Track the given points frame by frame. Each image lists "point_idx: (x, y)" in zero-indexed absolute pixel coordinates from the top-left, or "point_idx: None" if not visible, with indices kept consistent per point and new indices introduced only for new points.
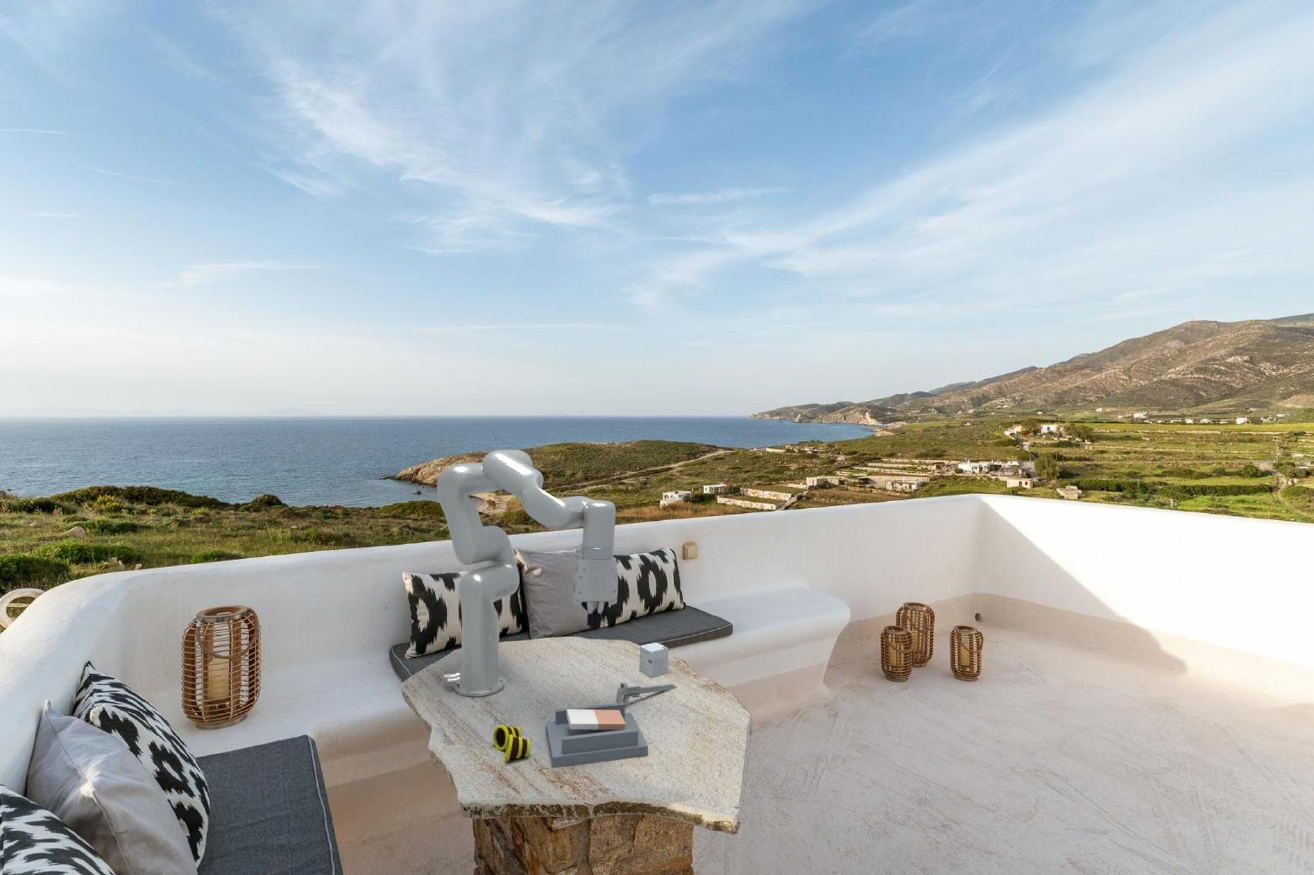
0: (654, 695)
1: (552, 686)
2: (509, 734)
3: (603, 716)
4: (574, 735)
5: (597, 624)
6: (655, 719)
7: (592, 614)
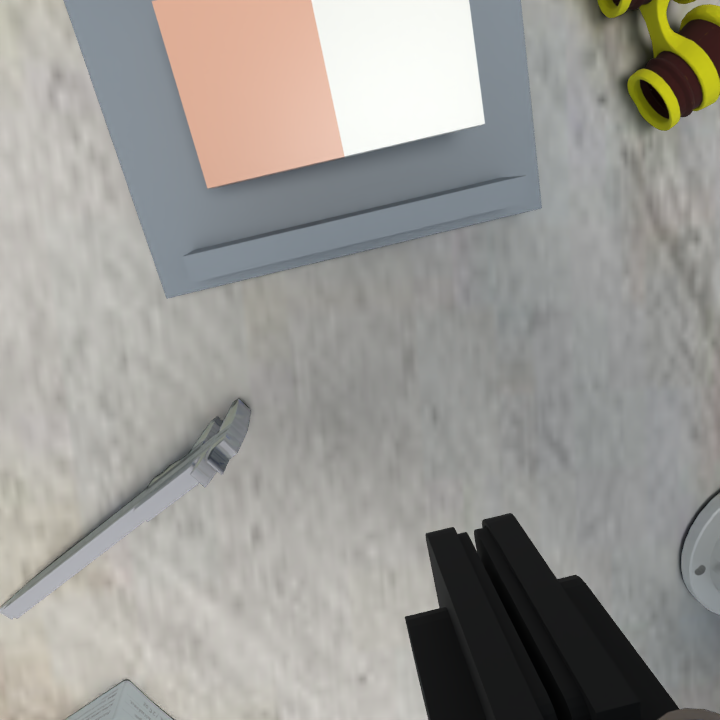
0: (93, 529)
1: None
2: (705, 25)
3: (284, 76)
4: None
5: (451, 577)
6: (62, 310)
7: (625, 695)
